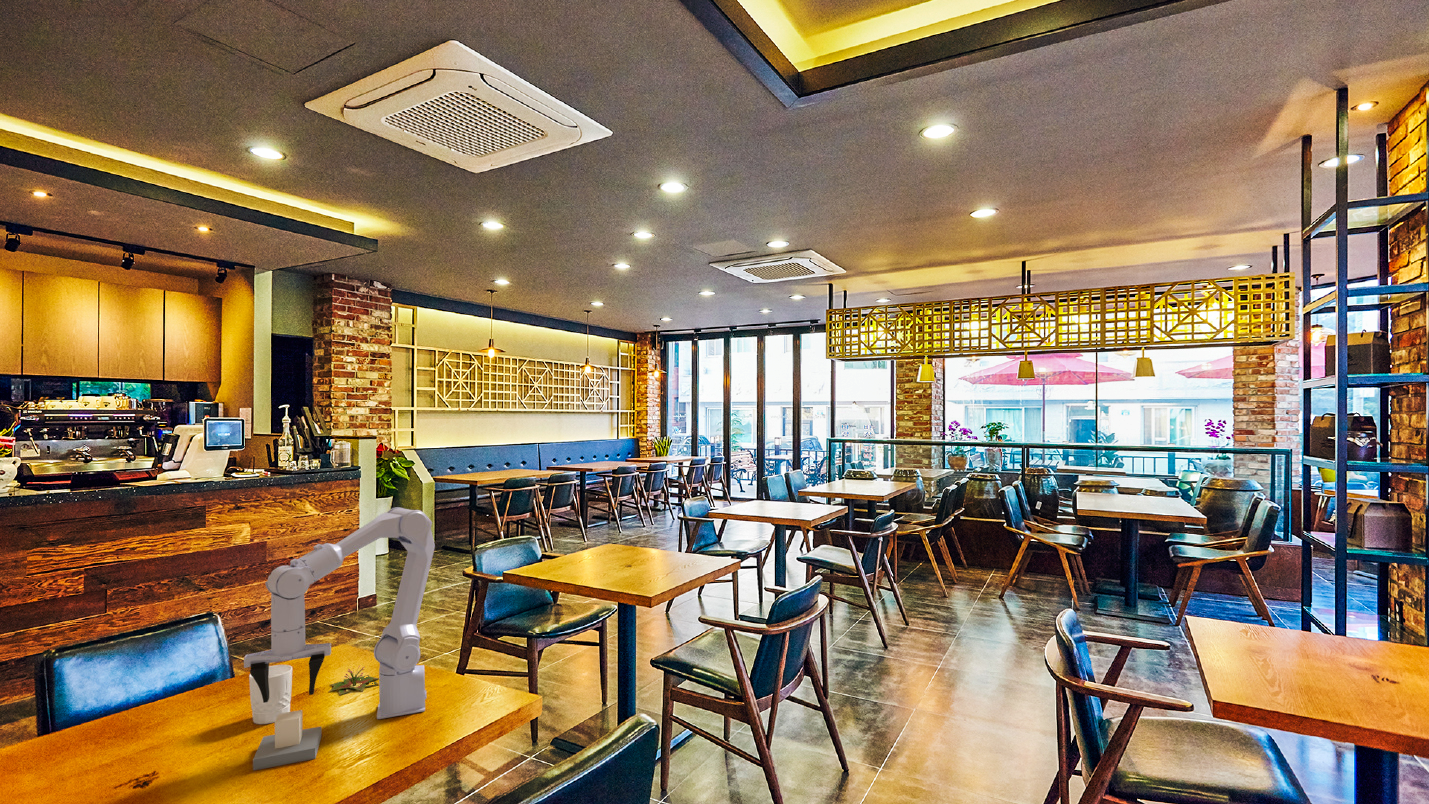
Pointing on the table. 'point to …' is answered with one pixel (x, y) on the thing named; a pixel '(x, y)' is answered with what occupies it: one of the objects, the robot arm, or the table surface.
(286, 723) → the cream block
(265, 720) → the white cup
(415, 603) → the robot arm
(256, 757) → the slate tile
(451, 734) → the table surface
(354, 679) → the lily flower
